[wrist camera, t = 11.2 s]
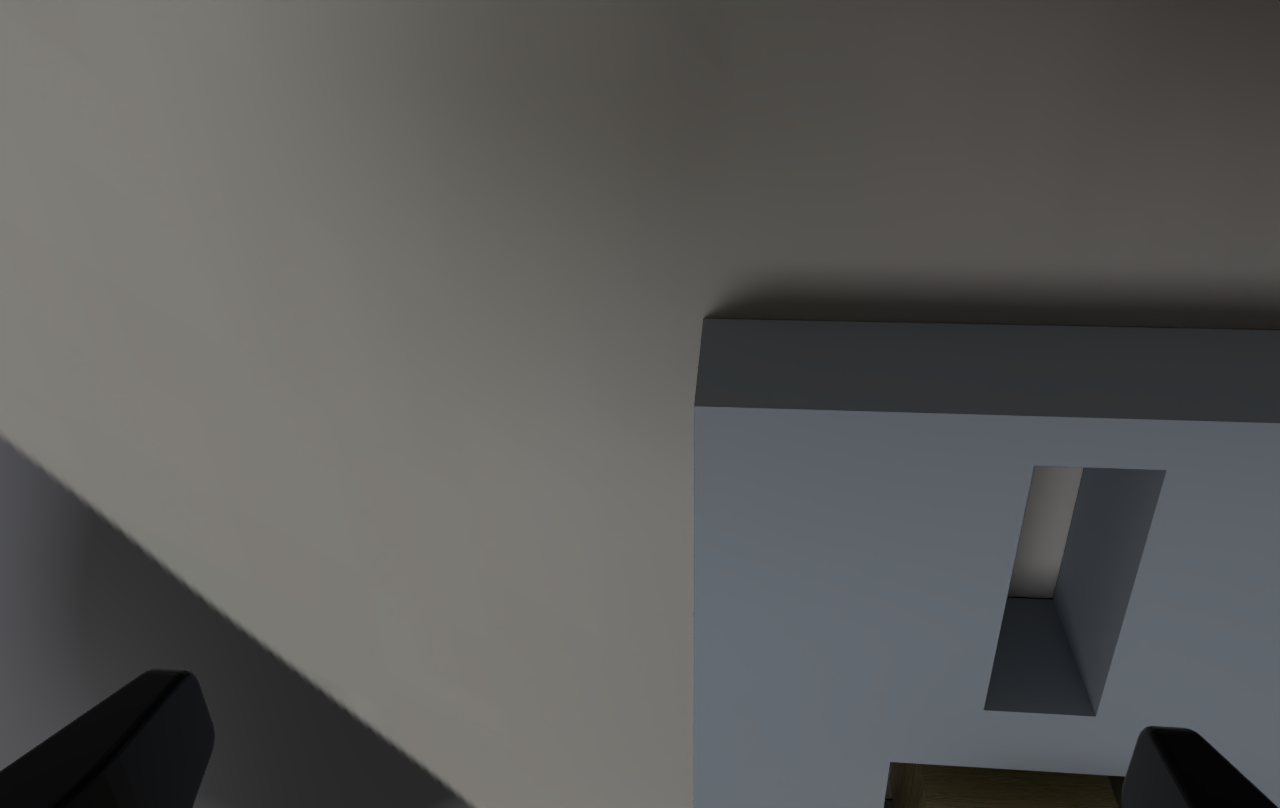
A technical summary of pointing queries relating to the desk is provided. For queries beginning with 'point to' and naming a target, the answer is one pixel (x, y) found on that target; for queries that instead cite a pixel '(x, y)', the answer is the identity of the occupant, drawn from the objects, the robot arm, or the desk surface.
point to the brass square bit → (995, 788)
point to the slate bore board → (977, 552)
